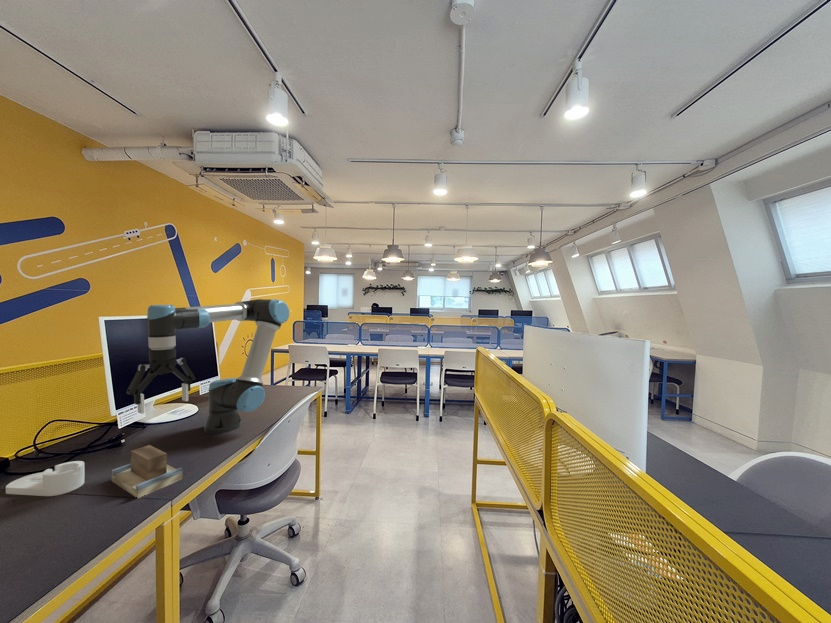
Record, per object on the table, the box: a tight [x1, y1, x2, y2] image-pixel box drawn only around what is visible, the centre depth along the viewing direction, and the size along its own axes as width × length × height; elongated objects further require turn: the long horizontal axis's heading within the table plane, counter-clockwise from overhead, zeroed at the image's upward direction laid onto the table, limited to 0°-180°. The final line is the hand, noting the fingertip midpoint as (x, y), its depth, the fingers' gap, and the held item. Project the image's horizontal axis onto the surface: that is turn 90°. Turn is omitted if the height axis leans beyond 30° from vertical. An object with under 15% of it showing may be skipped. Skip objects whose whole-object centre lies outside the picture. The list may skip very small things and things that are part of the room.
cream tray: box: [111, 462, 184, 499], centre depth 103 cm, size 12×18×4 cm, turn 63°
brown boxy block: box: [130, 444, 168, 481], centre depth 103 cm, size 5×12×7 cm, turn 62°
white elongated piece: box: [5, 460, 85, 497], centre depth 98 cm, size 20×9×7 cm, turn 88°
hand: (164, 406), depth 111 cm, fingers open, 13 cm apart
